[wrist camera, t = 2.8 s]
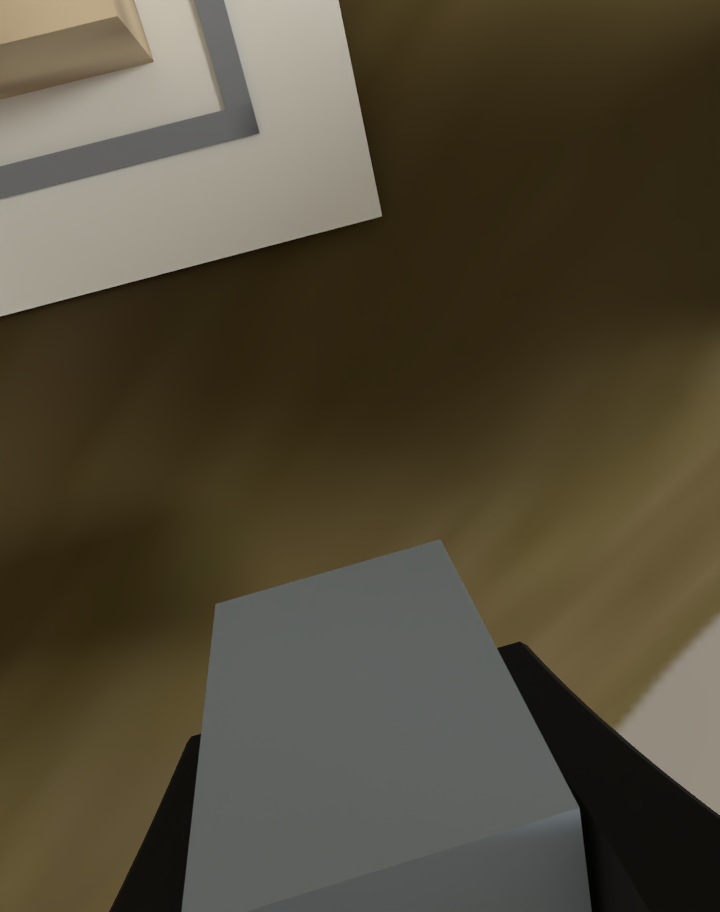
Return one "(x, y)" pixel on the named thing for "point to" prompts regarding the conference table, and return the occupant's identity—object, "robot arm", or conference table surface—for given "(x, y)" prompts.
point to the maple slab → (66, 42)
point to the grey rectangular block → (374, 756)
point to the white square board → (184, 151)
